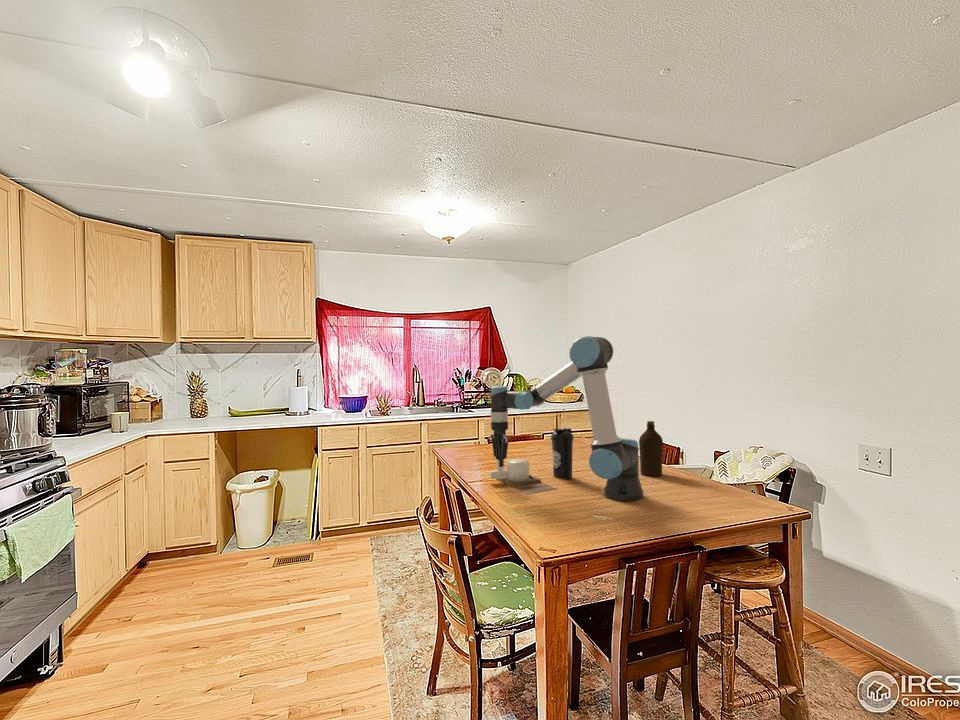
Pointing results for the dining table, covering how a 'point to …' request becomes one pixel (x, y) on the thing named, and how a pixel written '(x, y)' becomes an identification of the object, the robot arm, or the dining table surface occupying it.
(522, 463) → the white pot with handle
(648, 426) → the olive oil
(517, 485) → the brown flat rectangular tray
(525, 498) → the dining table surface
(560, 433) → the water bottle
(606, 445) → the robot arm
